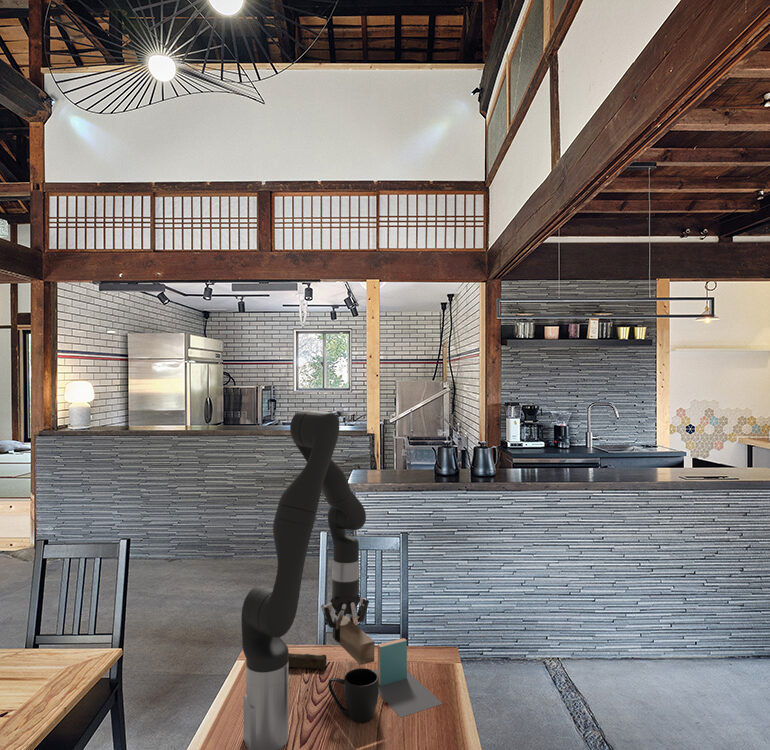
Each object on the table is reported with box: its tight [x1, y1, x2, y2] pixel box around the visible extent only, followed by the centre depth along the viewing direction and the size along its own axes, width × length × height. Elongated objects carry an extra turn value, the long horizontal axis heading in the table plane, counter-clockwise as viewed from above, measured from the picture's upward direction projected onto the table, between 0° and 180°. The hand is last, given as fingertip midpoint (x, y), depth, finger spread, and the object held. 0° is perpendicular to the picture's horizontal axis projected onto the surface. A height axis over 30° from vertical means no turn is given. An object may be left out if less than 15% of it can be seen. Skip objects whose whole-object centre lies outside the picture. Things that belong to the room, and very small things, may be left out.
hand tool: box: [289, 653, 327, 672], centre depth 151 cm, size 19×4×5 cm, turn 80°
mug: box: [327, 667, 379, 724], centre depth 128 cm, size 8×12×10 cm
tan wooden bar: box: [332, 615, 376, 666], centre depth 143 cm, size 4×18×5 cm, turn 28°
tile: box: [377, 637, 408, 686], centre depth 143 cm, size 8×2×10 cm, turn 118°
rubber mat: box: [373, 668, 444, 718], centre depth 139 cm, size 12×22×1 cm, turn 28°
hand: (344, 639), depth 148 cm, fingers closed on tan wooden bar, 4 cm apart
